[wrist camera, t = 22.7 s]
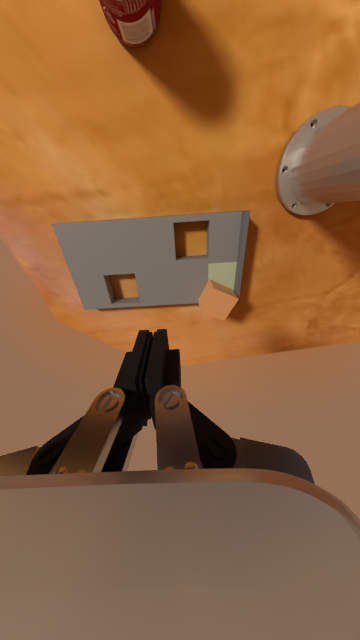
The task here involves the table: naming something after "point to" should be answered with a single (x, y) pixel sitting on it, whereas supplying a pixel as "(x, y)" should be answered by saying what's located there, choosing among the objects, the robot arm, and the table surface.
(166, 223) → the plate
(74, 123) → the table surface
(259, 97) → the table surface
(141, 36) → the soda can
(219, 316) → the block
